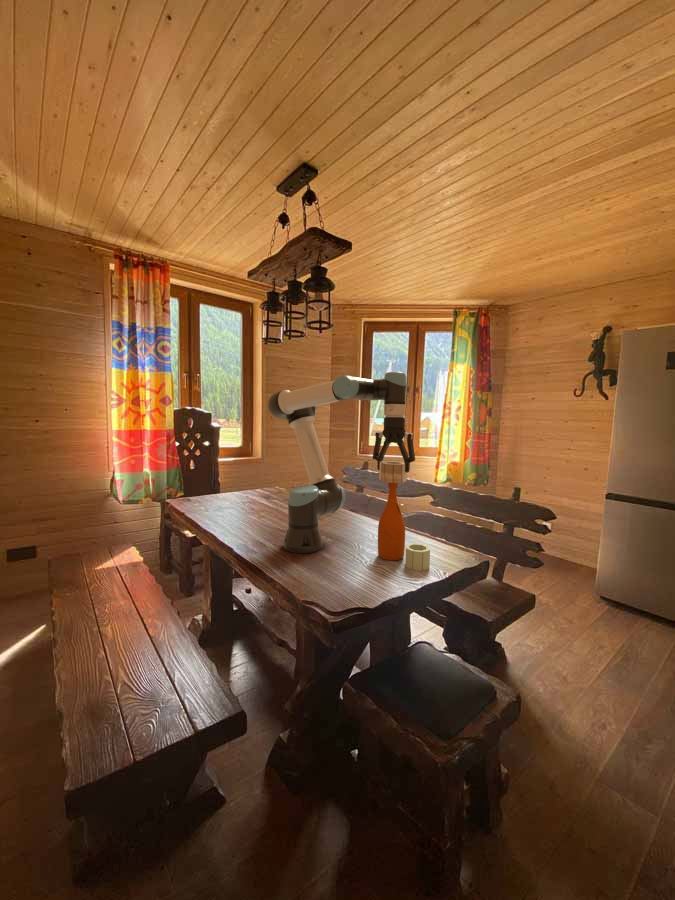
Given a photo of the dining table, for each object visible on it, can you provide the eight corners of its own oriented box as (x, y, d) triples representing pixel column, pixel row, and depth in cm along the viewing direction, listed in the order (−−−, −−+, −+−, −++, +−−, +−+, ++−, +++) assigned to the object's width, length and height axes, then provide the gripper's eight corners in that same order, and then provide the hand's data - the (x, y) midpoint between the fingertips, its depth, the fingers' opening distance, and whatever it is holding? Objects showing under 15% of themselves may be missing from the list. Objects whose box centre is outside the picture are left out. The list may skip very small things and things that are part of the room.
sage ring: (405, 569, 125) (405, 550, 124) (405, 560, 133) (406, 542, 132) (429, 571, 123) (430, 552, 123) (428, 562, 131) (429, 544, 131)
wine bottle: (389, 563, 129) (391, 478, 127) (372, 554, 138) (373, 474, 135) (410, 558, 135) (412, 476, 132) (392, 550, 143) (394, 472, 140)
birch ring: (378, 481, 132) (378, 463, 132) (387, 478, 139) (387, 461, 139) (399, 483, 128) (399, 464, 128) (407, 480, 135) (407, 462, 135)
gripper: (363, 416, 134) (362, 478, 136) (419, 416, 123) (417, 484, 125) (372, 416, 140) (371, 476, 142) (426, 417, 130) (424, 481, 132)
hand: (392, 480), depth 134 cm, fingers closed on birch ring, 8 cm apart
